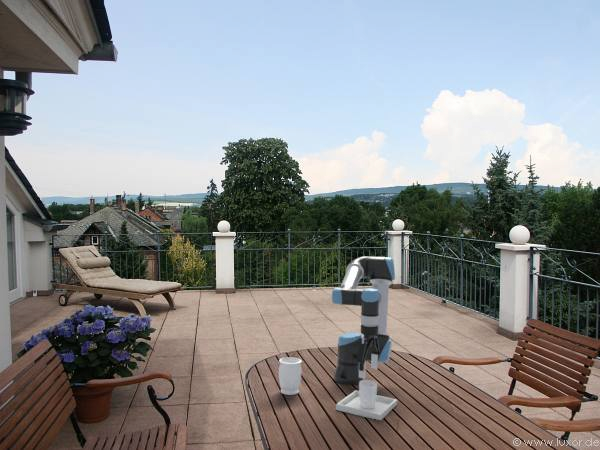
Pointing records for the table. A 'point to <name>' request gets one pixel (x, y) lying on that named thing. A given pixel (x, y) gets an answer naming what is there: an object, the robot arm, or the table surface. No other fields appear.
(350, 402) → the grey tray
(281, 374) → the jar
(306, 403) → the table surface
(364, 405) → the white cup
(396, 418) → the table surface
